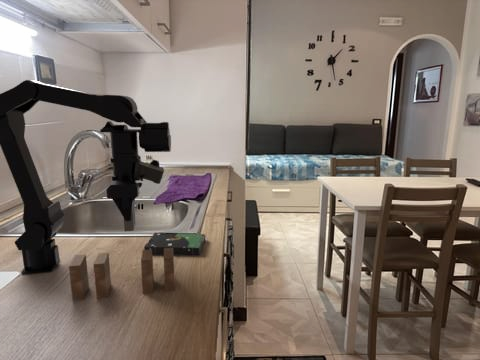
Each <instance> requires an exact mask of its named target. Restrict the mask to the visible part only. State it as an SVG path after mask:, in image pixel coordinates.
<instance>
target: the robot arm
mask: <svg viewBox="0 0 480 360" xmlns="http://www.w3.org/2000/svg"><path fill="white" fill-rule="evenodd" d="M39 102H43V103H48V104H54V105H58V106H59V105H60V106H64V107H69V108H72V109H79V110H83V111H88V112H91V113H94V114H95V115H98V116H99V117H101V118H104V119H107V120H109V121H106V123H105V125H103V127H101V128H100V129H99V131H100V132H101V133H109V134H110V145H111V157H110V163H111V164H112V172H113V173H112V174H113V175H112V176H111V181H112V182H111V183H110V184H109V185H108V187H107V188H106V190H105V191H106V192H105V193H106V199H109V200H112V201H113V202H114V204H115V206H116V207H117V209H118V211H119V212H120V214H121V215H122V217H123V220H124V219H125V221H130V220H131V214H132V206H133V200H134V204H135V201H136V198H138V197H139V196H140V188H141V187H143V181H144V180H147V181H150V182H152V183H154V184H158V185H159V184H161V182H162V178H163V176H164V173H165V168H164V167H163V166H160V161H159V160H158V159H157V160H156V159H152V160H151V161H150V162H147V161H146V162H144V161H142V159H141V158H142V157H141V155H140V154H139V148H141V149H142V150H144V152H145V153H170V152H171V149H172V135H171V131H170V124H169V121H162V122H147V121H146V120H145V118H144V117H143V116H142V115H141V113H139V111H138V105H137V102H136V101H135V100H134V98H132V97H130V96H127V95H115V94H94V93H89V92H84V91H79V90H76V89H69V88H65V87H60V86H56V85H52V84H47V83H43V82H41V81H38V80H32V79H26V80H23V81H21V82H20V83H19V84H17V85H15V86H14V87H12V88H10V89H7V90H6V91H4V92H1V93H0V148H1V151H2V153H3V156H4V158H5V160H6V163H7V165H8V168H9V171H10V173H11V176H12V178H13V180H14V184H15V185H16V187H17V191H18V192H19V196H20V198H21V200H22V202H23V203H22V204H23V211H22V212H23V213H22V222H23V226H24V231H23V233H22V234H21V235H20V236H19V237H18V238H17V239H16V240H15V241H14V245H15V246H16V248H17V250H18V251H21V256H22V261H23V262H22V263H23V269H22V270H21V271H20V273H21V274H22V275H23V274H36V273H48V272H52V271H54V269H55V267H56V266H57V265H58V263H59V262H60V260H61V259H60V252H59V246H58V244H56V239H55V238H54V237H56V235H57V233H58V231H59V230H60V229H62V227H63V225H64V223H65V222H64V218H65V216H66V214H65V213H64V212H63V210H62V208H61V202H60V201H59V200H57V201H55V202H53V201H52V199H50V198H49V197H48V196H47V194H46V192H45V191H46V190H45V189H44V186H43V183H42V180H41V178H40V175H39V174H38V171H37V168H36V166H35V162H34V161H33V158H32V155H31V152H30V149H29V147H28V143H27V141H26V139H25V131H26V121H25V116H24V114H25V113H27V112H29V111H30V110H32V109H33V107H34V106H36V104H38V103H39ZM113 122H115V123H118V124H114V123H113ZM119 123H124V124H119ZM129 127H130V128H129ZM138 144H139V145H138ZM139 181H141V182H139Z"/></svg>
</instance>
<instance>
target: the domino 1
mask: <svg viewBox="0 0 480 360" xmlns="http://www.w3.org/2000/svg"><path fill="white" fill-rule="evenodd" d="M68 272H69V279H70V290H71V298H72V301H75V302H76V301H84V299H85V297H86V295H87V292H88V290H89V287H90V284H89V282H90V281H89V276H88V275H89V273H88V262H87V254H85V253H83V254H75V255H74V257H73V258H72V260H71V262H70V263H69V265H68Z"/></svg>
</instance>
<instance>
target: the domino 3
mask: <svg viewBox="0 0 480 360" xmlns="http://www.w3.org/2000/svg"><path fill="white" fill-rule="evenodd" d="M135 208H136V207H135V203H134V200H133V206H132V214H131V220H130V221H125V219H124V218H123V228H124V232H132V231H134V230H135V227H136V212H135V211H136V209H135Z"/></svg>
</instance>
